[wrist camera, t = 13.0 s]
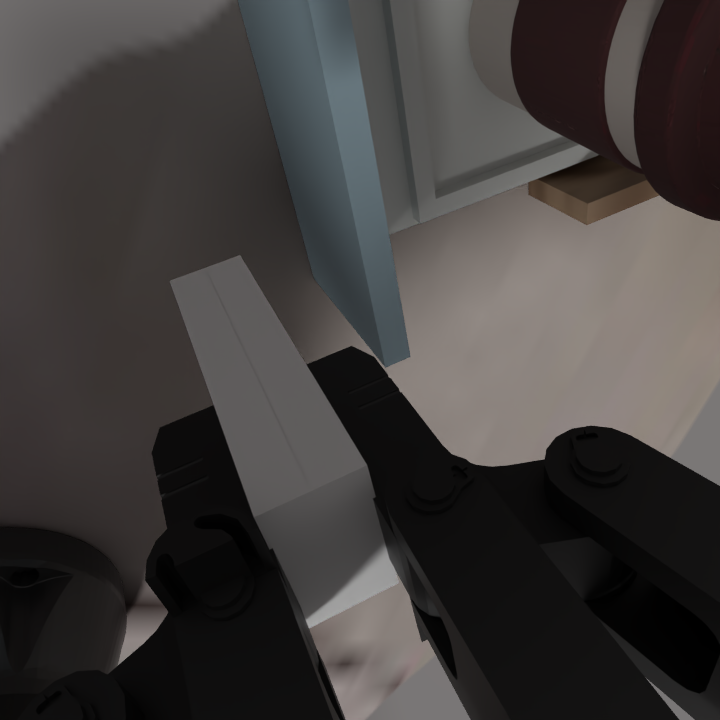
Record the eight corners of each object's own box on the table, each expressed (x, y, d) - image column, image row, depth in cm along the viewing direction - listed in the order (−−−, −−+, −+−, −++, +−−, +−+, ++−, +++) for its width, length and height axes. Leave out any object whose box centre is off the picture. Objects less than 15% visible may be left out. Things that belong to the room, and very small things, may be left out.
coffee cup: (485, -157, 24) (885, -243, 13) (652, -70, 29) (1054, -74, 17) (410, 106, 28) (655, 219, 17) (565, 145, 33) (838, 254, 22)
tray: (313, 278, 33) (385, 367, 26) (185, -189, 21) (255, -250, 14) (627, 155, 37) (759, 205, 30) (667, -291, 25) (898, -375, 18)
